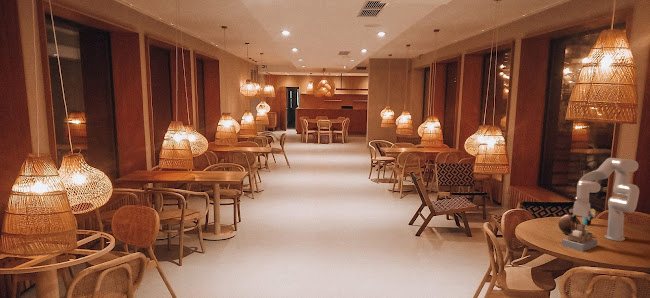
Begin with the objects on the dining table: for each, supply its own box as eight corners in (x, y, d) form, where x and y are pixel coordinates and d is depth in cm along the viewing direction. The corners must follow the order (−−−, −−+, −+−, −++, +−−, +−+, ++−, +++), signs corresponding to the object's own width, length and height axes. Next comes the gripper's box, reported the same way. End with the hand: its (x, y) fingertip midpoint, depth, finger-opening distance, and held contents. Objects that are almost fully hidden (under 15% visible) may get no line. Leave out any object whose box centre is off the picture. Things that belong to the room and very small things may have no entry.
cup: (575, 224, 351) (576, 206, 349) (575, 221, 357) (577, 204, 355) (594, 226, 343) (596, 208, 341) (595, 224, 349) (596, 206, 347)
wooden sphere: (557, 230, 335) (558, 211, 333) (579, 232, 328) (580, 214, 326) (558, 235, 322) (559, 216, 320) (580, 238, 315) (582, 218, 313)
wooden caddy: (580, 236, 306) (581, 221, 305) (592, 239, 300) (593, 224, 298) (567, 240, 297) (568, 225, 296) (579, 243, 291) (580, 228, 289)
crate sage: (582, 233, 303) (582, 227, 303) (588, 234, 300) (588, 229, 300) (579, 234, 301) (579, 228, 301) (585, 235, 298) (585, 230, 297)
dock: (576, 240, 310) (576, 234, 310) (597, 245, 298) (597, 239, 298) (561, 245, 299) (562, 239, 299) (582, 251, 288) (582, 245, 287)
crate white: (575, 235, 298) (575, 230, 298) (581, 237, 295) (581, 231, 295) (572, 236, 296) (572, 231, 296) (578, 238, 293) (578, 232, 292)
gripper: (567, 198, 300) (566, 221, 302) (593, 203, 286) (591, 227, 288) (572, 196, 304) (571, 219, 306) (598, 201, 290) (597, 225, 292)
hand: (581, 223), depth 297 cm, fingers open, 9 cm apart
